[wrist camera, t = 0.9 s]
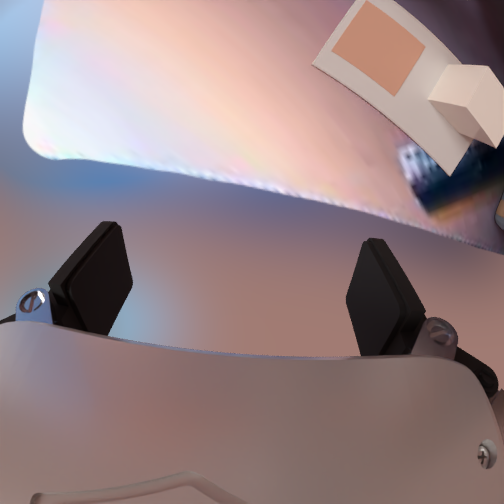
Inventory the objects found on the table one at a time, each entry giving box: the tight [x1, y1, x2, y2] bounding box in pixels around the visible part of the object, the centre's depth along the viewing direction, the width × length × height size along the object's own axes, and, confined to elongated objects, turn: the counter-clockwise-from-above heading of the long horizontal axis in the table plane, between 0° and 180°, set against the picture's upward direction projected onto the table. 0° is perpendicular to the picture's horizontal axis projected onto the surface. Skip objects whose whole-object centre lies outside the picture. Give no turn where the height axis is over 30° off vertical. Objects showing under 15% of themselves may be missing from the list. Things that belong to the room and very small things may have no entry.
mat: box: [312, 0, 473, 176], centre depth 27 cm, size 16×26×1 cm, turn 61°
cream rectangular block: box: [427, 64, 504, 148], centre depth 23 cm, size 7×7×9 cm
